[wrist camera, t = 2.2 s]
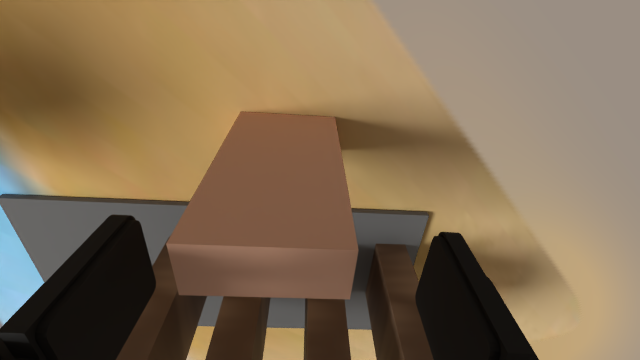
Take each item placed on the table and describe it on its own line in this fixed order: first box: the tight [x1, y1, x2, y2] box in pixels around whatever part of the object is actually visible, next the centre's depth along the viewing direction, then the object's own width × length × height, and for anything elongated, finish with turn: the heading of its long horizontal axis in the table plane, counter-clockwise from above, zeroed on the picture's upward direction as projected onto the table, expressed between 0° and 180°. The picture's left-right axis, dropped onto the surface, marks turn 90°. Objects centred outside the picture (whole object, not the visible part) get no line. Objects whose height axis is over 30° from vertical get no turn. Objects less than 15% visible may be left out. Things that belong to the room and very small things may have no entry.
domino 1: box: [116, 236, 207, 360], centre depth 18 cm, size 2×5×10 cm, turn 176°
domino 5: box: [365, 243, 434, 360], centre depth 18 cm, size 2×5×10 cm, turn 176°
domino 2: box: [166, 112, 359, 299], centre depth 13 cm, size 2×5×10 cm, turn 86°
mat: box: [0, 194, 429, 330], centre depth 23 cm, size 12×26×1 cm, turn 86°
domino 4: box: [304, 298, 351, 360], centre depth 18 cm, size 2×5×10 cm, turn 176°
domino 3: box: [205, 296, 271, 360], centre depth 18 cm, size 2×5×10 cm, turn 176°
